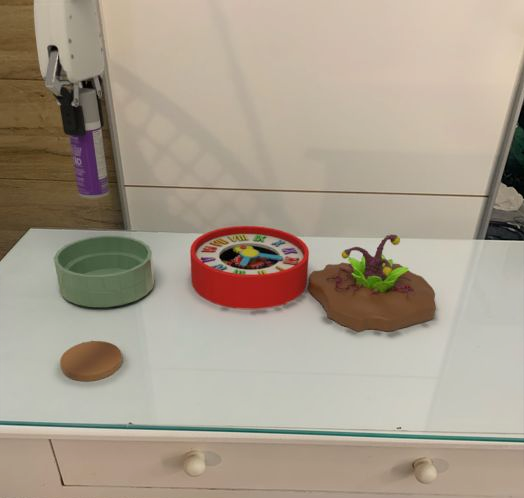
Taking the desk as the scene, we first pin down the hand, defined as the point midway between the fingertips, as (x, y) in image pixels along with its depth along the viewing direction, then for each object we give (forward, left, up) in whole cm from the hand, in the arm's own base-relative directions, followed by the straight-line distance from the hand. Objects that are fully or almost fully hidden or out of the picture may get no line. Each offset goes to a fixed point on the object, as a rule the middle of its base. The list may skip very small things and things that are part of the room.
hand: (84, 129), depth 82 cm
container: (0, 0, -10) cm, 10 cm away
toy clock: (+24, +6, -25) cm, 35 cm away
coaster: (+10, -24, -24) cm, 35 cm away
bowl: (+2, -4, -24) cm, 25 cm away
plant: (+46, +6, -25) cm, 52 cm away
